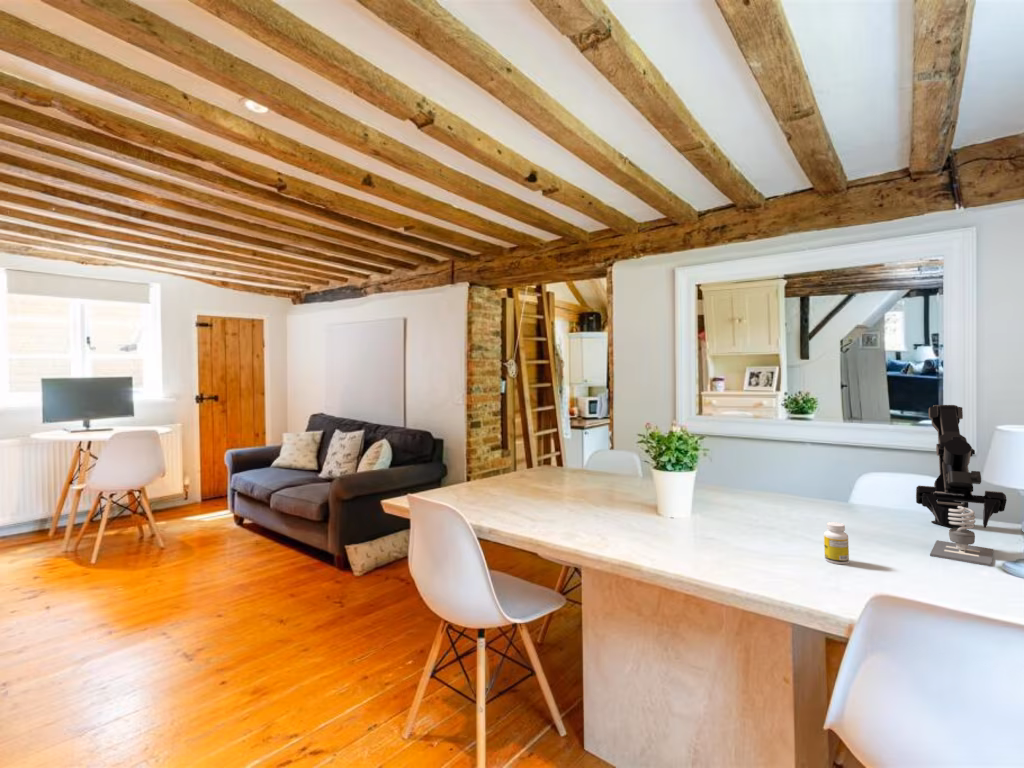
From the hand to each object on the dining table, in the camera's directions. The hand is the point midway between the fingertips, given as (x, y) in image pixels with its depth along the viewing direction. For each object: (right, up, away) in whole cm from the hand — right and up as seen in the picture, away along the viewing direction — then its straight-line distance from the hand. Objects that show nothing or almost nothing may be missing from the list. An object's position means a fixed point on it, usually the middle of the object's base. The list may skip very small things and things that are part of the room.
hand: (962, 524), depth 139 cm
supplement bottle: (-36, -9, -3) cm, 37 cm away
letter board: (+1, -8, +1) cm, 8 cm away
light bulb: (+1, -8, +1) cm, 8 cm away
